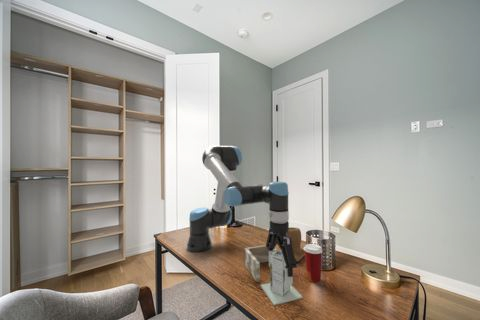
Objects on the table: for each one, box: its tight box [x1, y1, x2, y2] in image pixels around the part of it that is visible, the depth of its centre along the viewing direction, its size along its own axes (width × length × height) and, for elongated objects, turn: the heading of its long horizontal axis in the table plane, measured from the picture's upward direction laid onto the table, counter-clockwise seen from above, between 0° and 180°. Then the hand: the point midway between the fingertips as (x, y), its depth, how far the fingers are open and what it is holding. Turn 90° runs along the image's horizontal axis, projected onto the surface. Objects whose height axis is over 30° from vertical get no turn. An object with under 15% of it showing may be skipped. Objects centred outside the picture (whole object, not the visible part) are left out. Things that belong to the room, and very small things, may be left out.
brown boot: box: [286, 226, 305, 263], centre depth 109 cm, size 15×12×15 cm
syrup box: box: [269, 249, 290, 296], centre depth 78 cm, size 6×6×14 cm
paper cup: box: [303, 243, 323, 284], centre depth 87 cm, size 8×8×14 cm
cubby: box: [243, 244, 278, 283], centre depth 95 cm, size 16×15×8 cm
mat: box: [260, 282, 303, 306], centre depth 78 cm, size 12×12×1 cm
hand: (279, 274), depth 78 cm, fingers open, 13 cm apart
